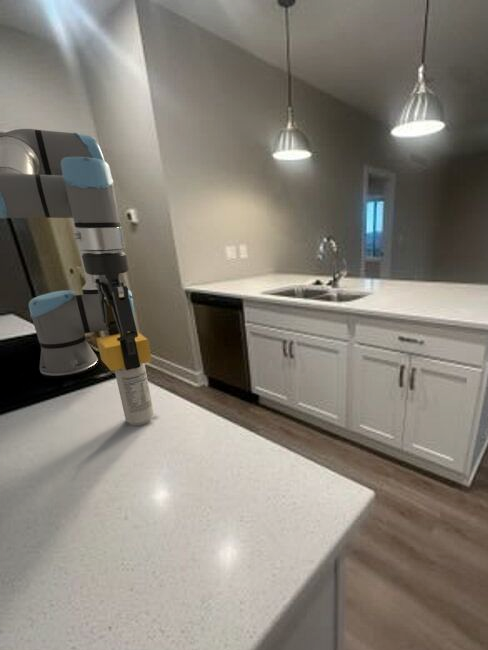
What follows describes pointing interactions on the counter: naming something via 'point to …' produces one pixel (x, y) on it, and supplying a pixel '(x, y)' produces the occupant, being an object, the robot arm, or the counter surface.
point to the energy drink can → (135, 395)
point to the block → (113, 352)
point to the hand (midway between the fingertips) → (126, 361)
